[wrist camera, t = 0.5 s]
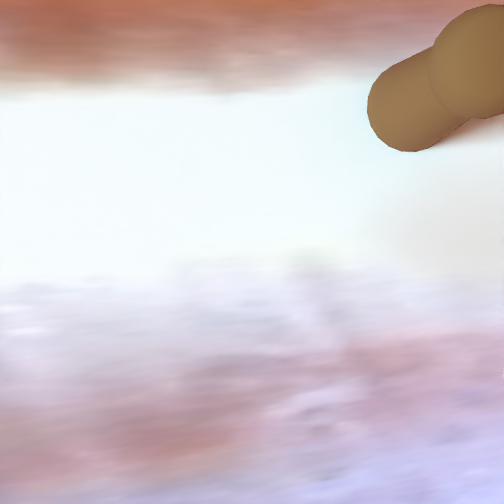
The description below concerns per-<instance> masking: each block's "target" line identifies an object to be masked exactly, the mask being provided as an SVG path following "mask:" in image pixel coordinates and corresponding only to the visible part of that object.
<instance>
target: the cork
mask: <svg viewBox="0 0 504 504" xmlns="http://www.w3.org/2000/svg"><path fill="white" fill-rule="evenodd" d="M367 113H368V117H369V121H370V125H371V127H372V129H373V130H374V132H375V133H376V135H377V137H378V138H379V139H380V140H382V141H383V142H384V143H385V144H387V145H388V146H389V147H392V148H394V149H397V150H399V151H406V152H416V151H420V150H423V149H427V148H429V147H431V146H432V145H433V144H435V143H436V142H438V141H439V140H441V139H442V138H444V137H445V136H446V135H448V134H449V133H451V132H452V131H453V130H455V129H456V128H458V127H459V126H461V125H462V124H463V123H465V122H466V121H468V120H469V119H470V118H480V119H486V118H489V117H493V116H496V115H500V114H503V113H504V5H495V4H487V5H484V6H480V7H477V8H473V9H470V10H467V11H465V12H464V13H462V14H461V15H459V16H458V17H456V18H455V19H453V20H452V21H451V22H450V23H449V24H448V25H447V26H446V27H445V28H444V29H443V31H442V32H441V33H440V35H439V36H438V37H437V38H436V40H435V43H434V45H433V46H432V47H430V48H428V49H426V50H424V51H422V52H420V53H418V54H416V55H414V56H412V57H409V58H407V59H405V60H403V61H401V62H399V63H397V64H395V65H393V66H392V67H390V68H389V69H387V70H386V71H384V72H383V73H381V75H380V76H379V77H378V78H377V80H376V81H375V82H374V84H373V85H372V88H371V91H370V93H369V96H368V105H367Z"/></svg>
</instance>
